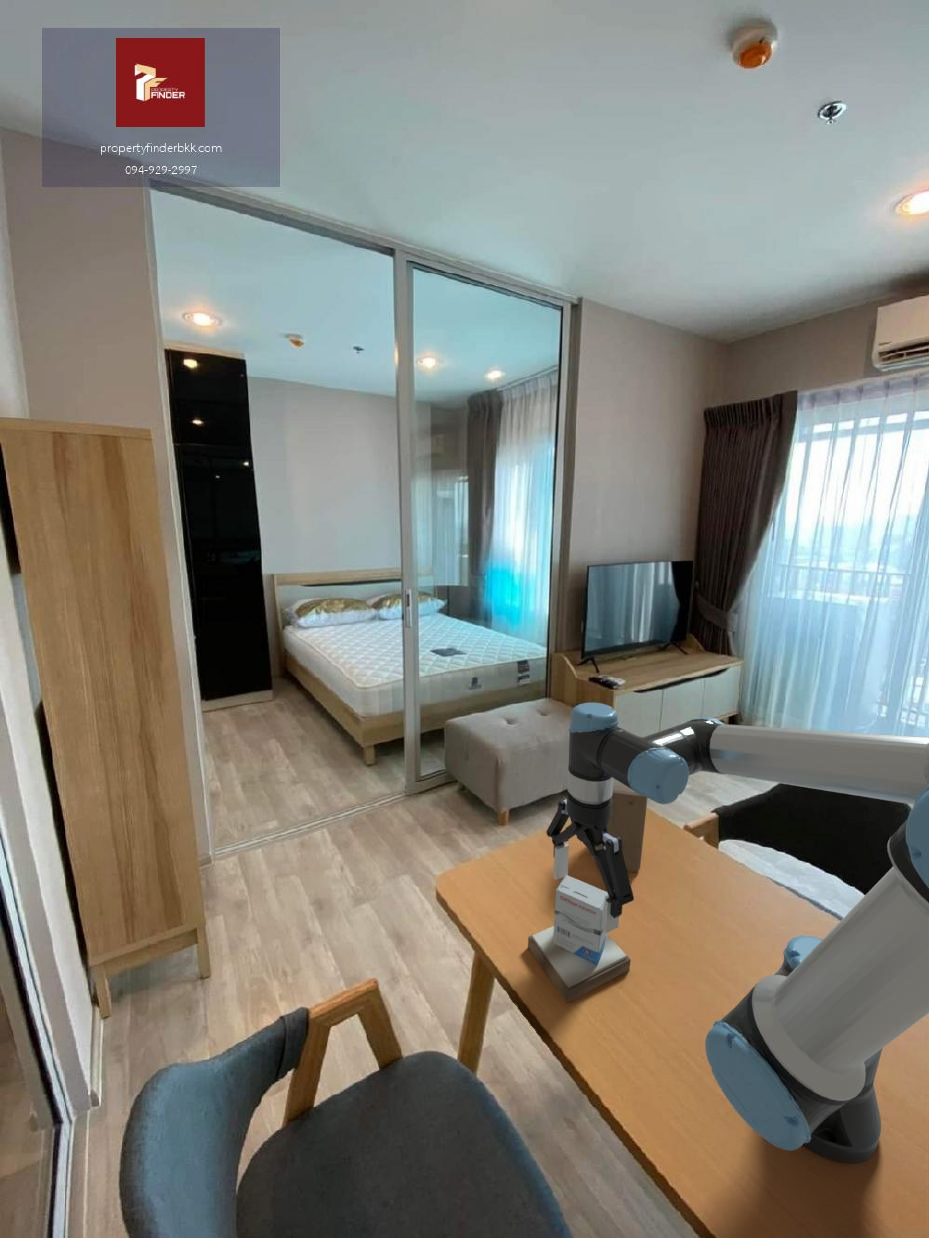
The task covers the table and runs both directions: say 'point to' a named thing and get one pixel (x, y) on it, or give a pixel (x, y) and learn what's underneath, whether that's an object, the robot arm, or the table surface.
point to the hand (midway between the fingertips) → (583, 900)
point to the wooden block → (628, 823)
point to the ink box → (579, 919)
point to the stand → (576, 965)
